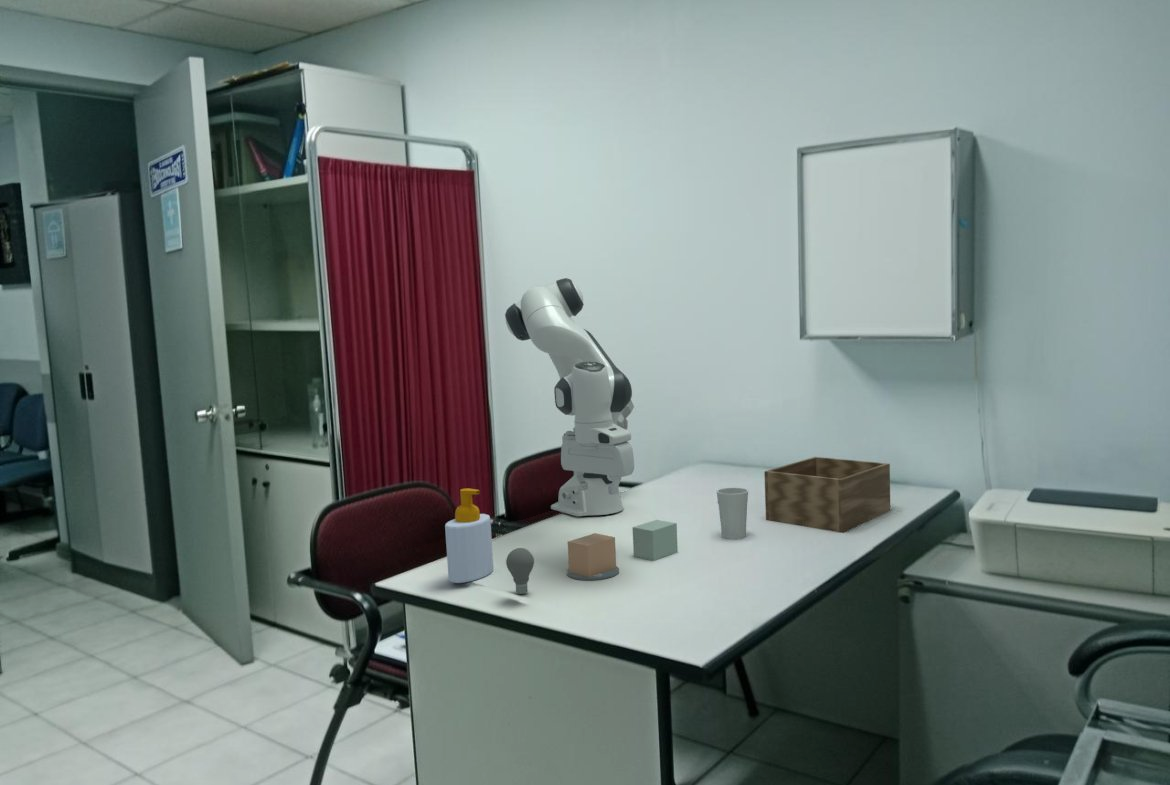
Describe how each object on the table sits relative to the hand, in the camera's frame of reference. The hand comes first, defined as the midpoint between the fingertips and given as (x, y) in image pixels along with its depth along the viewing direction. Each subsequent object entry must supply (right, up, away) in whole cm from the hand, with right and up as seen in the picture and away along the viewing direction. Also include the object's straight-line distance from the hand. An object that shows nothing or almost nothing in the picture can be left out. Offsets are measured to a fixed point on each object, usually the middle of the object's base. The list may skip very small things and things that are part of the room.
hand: (598, 491), depth 213 cm
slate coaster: (-1, -18, -1) cm, 19 cm away
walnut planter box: (+63, -11, +38) cm, 75 cm away
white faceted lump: (+4, -11, +67) cm, 68 cm away
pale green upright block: (+14, -16, +11) cm, 24 cm away
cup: (+35, -14, +24) cm, 45 cm away
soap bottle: (-29, -20, +1) cm, 36 cm away
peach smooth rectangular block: (-1, -18, -1) cm, 18 cm away
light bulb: (-17, -21, -14) cm, 30 cm away
